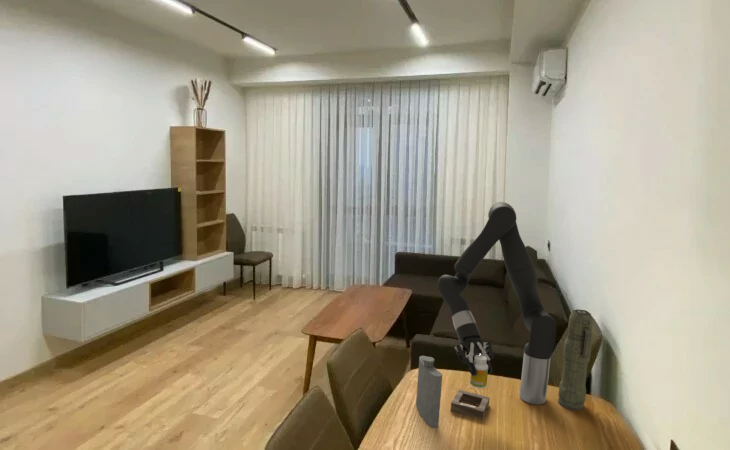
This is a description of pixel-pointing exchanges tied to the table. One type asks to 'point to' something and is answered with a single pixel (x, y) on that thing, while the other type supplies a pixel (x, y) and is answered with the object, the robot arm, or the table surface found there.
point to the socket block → (469, 409)
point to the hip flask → (428, 391)
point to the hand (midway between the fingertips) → (482, 373)
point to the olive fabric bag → (576, 360)
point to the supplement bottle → (480, 372)
